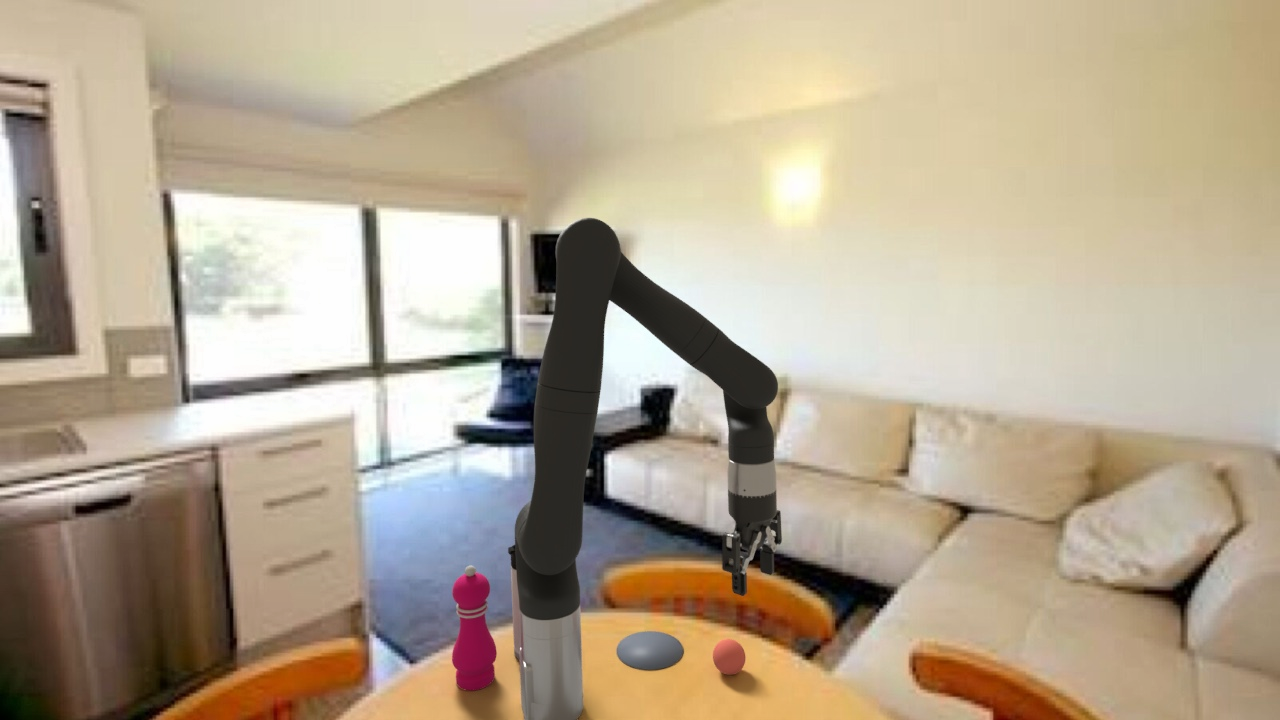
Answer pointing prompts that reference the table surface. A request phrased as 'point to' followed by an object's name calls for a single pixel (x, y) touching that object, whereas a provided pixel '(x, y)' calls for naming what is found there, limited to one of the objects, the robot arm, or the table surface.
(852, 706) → the table surface
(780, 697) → the table surface
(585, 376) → the robot arm
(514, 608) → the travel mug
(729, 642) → the ball
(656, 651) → the disc
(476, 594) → the pepper mill
